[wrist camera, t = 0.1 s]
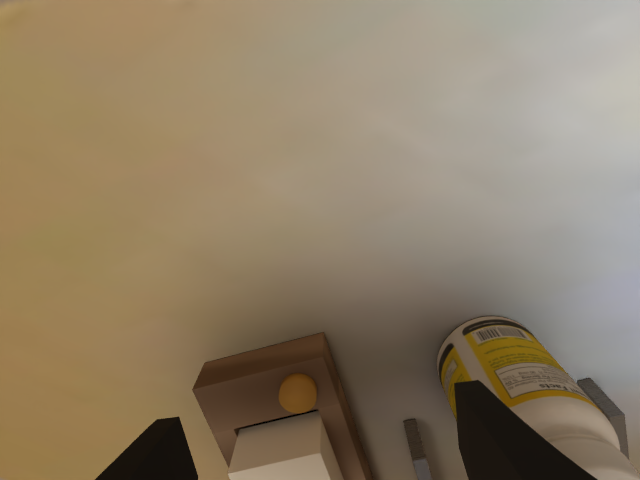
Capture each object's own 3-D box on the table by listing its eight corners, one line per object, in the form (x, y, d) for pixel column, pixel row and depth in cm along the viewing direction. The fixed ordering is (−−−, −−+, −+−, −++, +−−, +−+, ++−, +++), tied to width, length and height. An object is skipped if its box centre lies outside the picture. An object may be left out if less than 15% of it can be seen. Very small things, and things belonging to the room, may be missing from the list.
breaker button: (345, 475, 21) (347, 523, 18) (267, 492, 21) (259, 541, 19) (321, 410, 20) (320, 452, 17) (239, 429, 20) (227, 473, 18)
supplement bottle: (477, 415, 21) (567, 603, 13) (414, 358, 20) (469, 524, 12) (557, 356, 20) (705, 523, 12) (493, 293, 19) (610, 430, 11)
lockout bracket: (602, 472, 22) (634, 517, 20) (429, 509, 23) (440, 555, 21) (590, 377, 21) (624, 414, 18) (403, 421, 22) (412, 461, 19)
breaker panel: (377, 489, 23) (382, 536, 21) (271, 512, 24) (264, 560, 21) (323, 332, 20) (322, 365, 18) (204, 363, 21) (187, 398, 18)
